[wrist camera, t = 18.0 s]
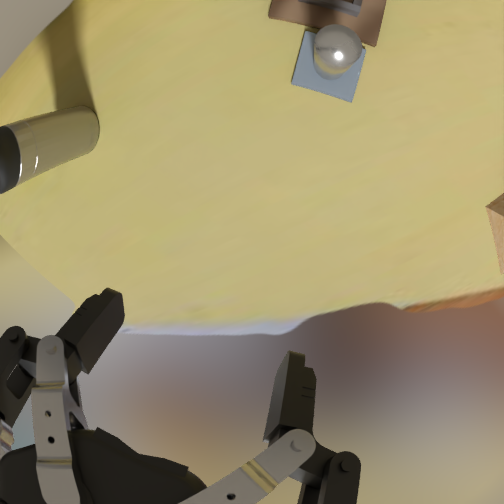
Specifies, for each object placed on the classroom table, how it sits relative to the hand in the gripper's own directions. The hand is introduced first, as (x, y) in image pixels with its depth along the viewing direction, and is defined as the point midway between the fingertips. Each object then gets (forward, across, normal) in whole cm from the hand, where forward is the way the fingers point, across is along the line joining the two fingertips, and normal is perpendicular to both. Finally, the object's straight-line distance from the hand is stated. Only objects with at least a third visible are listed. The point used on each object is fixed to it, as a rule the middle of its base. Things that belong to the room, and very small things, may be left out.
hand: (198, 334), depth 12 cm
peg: (+30, -3, -16) cm, 34 cm away
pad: (+30, -3, -16) cm, 34 cm away
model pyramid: (+31, -45, -9) cm, 55 cm away
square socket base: (+30, -1, -28) cm, 41 cm away
